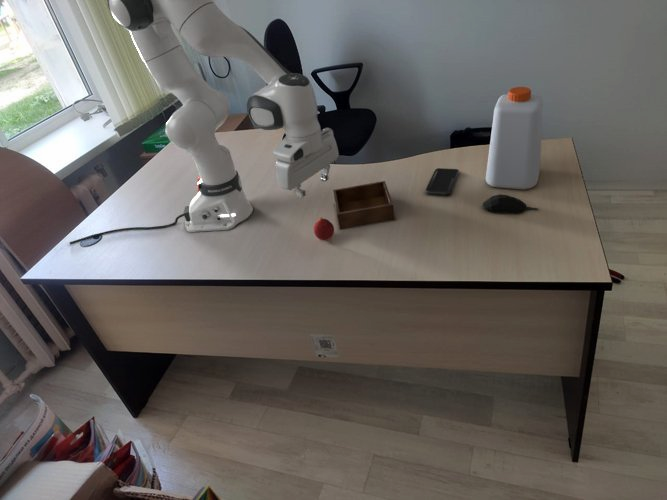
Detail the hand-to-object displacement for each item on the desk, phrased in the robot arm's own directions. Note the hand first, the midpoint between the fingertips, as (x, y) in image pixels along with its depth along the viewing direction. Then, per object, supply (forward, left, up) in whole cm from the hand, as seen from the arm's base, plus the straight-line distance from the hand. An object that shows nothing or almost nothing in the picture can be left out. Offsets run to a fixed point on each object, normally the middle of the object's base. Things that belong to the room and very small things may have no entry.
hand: (313, 188), depth 129 cm
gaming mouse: (+54, 0, -18) cm, 57 cm away
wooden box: (+13, +11, -18) cm, 25 cm away
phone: (+40, +20, -18) cm, 48 cm away
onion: (+1, 0, -18) cm, 18 cm away
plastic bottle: (+61, +16, -18) cm, 66 cm away
